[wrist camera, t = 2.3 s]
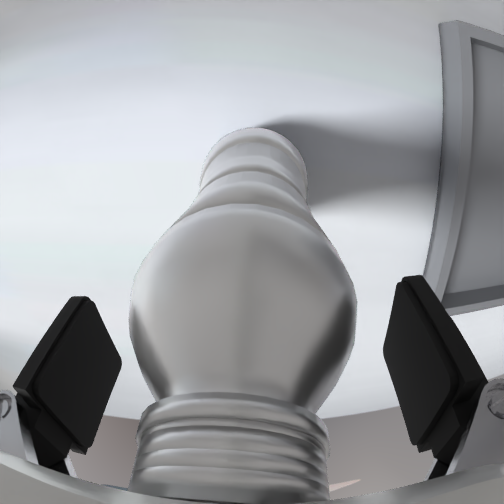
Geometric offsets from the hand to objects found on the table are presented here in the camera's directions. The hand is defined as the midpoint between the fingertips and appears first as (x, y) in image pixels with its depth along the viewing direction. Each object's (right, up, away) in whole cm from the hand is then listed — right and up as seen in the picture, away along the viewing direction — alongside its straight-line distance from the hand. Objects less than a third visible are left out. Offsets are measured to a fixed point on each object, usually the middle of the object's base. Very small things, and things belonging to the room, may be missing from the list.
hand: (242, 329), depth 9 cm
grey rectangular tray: (+20, +8, +11) cm, 25 cm away
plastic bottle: (0, +8, +12) cm, 14 cm away
